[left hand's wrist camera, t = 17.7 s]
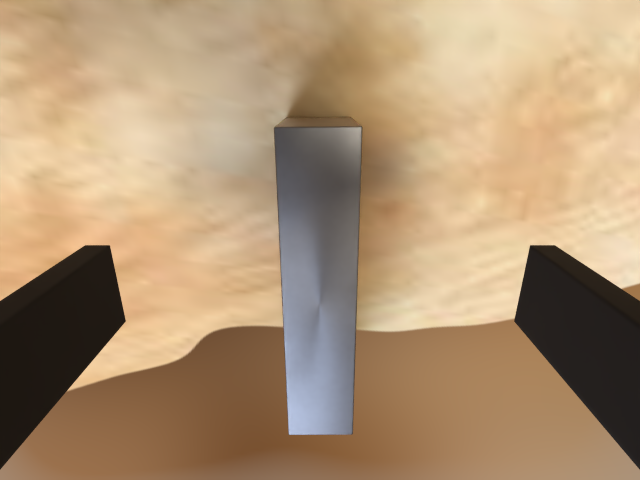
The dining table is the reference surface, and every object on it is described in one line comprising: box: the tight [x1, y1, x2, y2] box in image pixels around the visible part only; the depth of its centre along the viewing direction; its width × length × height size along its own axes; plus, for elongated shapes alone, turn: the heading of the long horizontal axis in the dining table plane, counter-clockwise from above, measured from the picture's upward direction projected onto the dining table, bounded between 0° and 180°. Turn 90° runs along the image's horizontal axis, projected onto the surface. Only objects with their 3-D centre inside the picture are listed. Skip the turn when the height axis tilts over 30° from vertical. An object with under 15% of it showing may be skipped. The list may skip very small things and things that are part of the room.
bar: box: [274, 117, 362, 435], centre depth 33 cm, size 25×6×9 cm, turn 0°
